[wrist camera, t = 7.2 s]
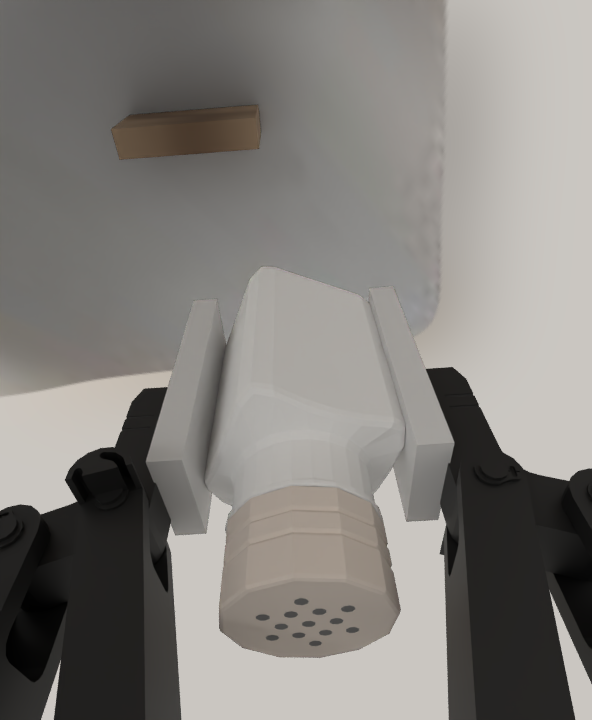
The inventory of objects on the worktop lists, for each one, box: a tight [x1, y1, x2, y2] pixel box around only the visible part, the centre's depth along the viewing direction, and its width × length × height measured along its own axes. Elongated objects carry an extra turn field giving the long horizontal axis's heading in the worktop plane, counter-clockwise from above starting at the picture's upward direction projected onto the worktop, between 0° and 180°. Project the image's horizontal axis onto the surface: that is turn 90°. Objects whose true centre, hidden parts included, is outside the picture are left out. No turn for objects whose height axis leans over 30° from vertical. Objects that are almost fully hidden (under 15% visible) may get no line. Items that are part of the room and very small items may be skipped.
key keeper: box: [111, 105, 261, 160], centre depth 18 cm, size 6×9×3 cm
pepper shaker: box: [204, 266, 405, 658], centre depth 12 cm, size 4×4×10 cm
